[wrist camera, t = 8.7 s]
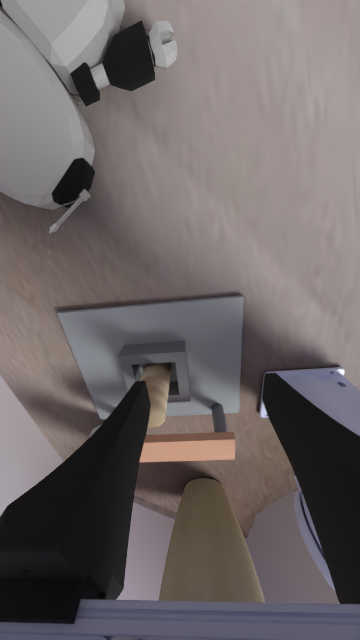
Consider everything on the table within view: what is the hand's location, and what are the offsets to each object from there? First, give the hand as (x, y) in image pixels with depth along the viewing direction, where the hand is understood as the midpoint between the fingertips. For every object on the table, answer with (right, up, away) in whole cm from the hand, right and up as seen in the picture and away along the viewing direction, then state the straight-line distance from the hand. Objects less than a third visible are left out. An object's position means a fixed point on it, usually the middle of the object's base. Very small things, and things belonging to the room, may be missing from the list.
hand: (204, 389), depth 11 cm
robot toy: (-10, +21, +3) cm, 23 cm away
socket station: (-4, -1, +12) cm, 13 cm away
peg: (-4, -1, +12) cm, 12 cm away
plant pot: (+3, -28, +25) cm, 38 cm away
